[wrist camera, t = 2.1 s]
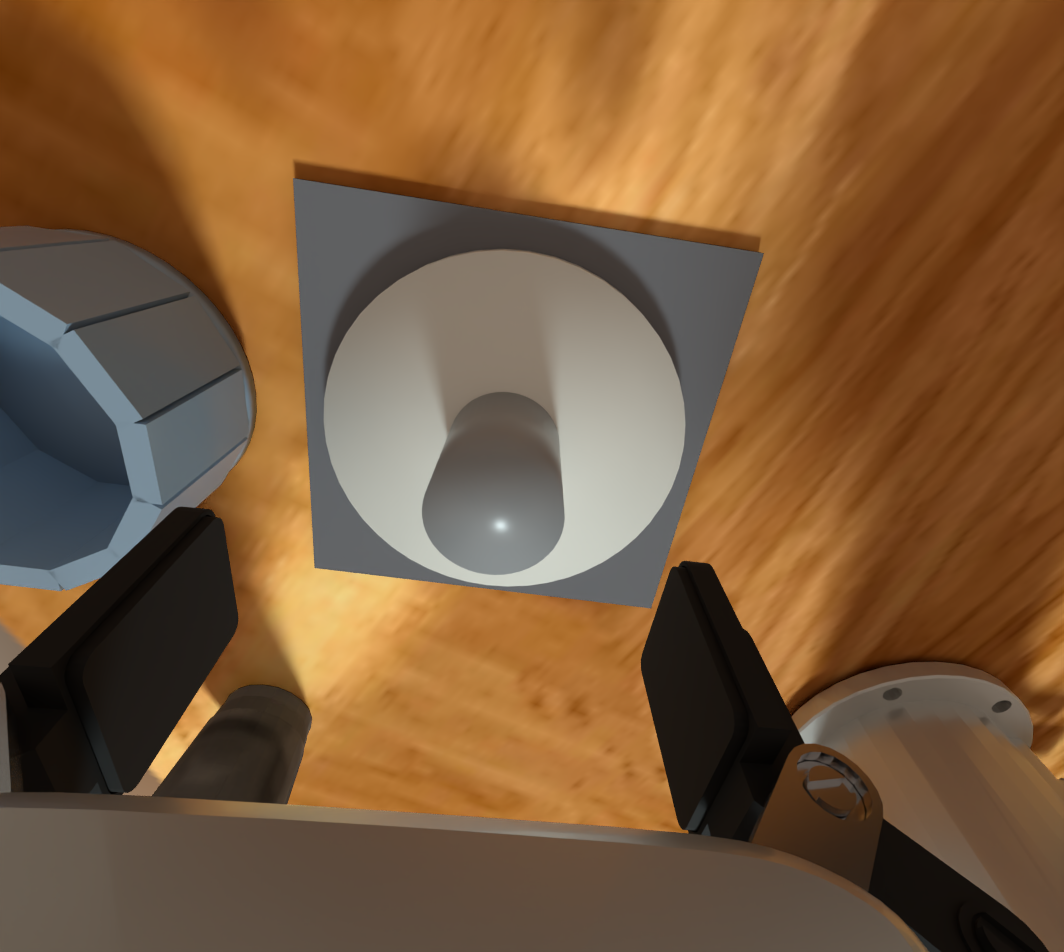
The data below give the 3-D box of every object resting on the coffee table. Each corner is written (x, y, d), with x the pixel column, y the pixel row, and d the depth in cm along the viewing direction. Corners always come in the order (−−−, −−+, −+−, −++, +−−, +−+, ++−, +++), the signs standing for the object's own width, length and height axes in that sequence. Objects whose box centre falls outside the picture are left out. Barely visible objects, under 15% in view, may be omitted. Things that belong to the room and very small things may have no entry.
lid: (724, 280, 18) (803, 315, 12) (635, 588, 24) (662, 701, 18) (326, 219, 17) (228, 229, 12) (338, 552, 23) (276, 658, 18)
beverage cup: (240, 642, 26) (-407, 1602, 8) (365, 712, 28) (68, 1590, 10) (173, 716, 28) (-431, 1573, 11) (293, 775, 31) (-44, 1567, 13)
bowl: (242, 253, 18) (115, 277, 13) (267, 508, 22) (182, 604, 17) (-74, 206, 17) (-346, 209, 12) (18, 477, 22) (-149, 567, 17)
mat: (759, 252, 18) (763, 253, 17) (649, 602, 25) (650, 608, 24) (298, 178, 17) (293, 178, 16) (318, 562, 24) (314, 567, 23)
